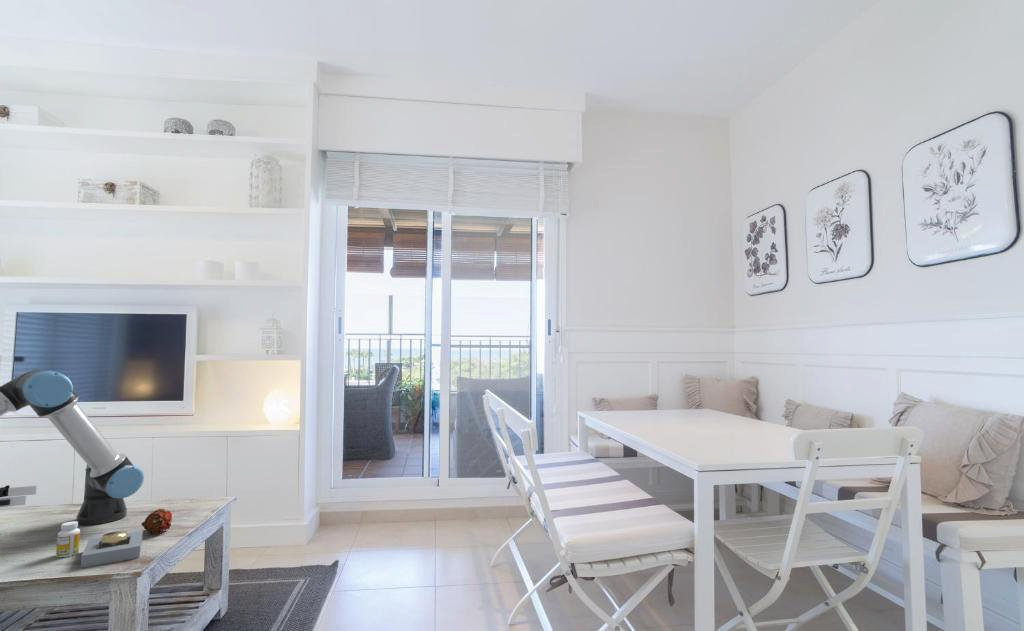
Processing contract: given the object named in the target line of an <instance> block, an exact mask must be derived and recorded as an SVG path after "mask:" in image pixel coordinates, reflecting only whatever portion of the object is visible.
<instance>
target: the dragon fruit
mask: <svg viewBox="0 0 1024 631" xmlns="http://www.w3.org/2000/svg"><path fill="white" fill-rule="evenodd" d="M172 521H173V514H172V512H171V511H169V510H166V509H165V508H158V509H156V510H154V511H152V512H150V513H149V514H148V515H147V517H146V518H145V519H144V521H143V522H142V523H141V526H142V527H143V528H144V530H145V531H146V532H148V533H149V532H152V533H153V534H160V533H159V532H161V533H162V532H163V530H164V531H166V530H169V529H171V526H172Z"/></svg>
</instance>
